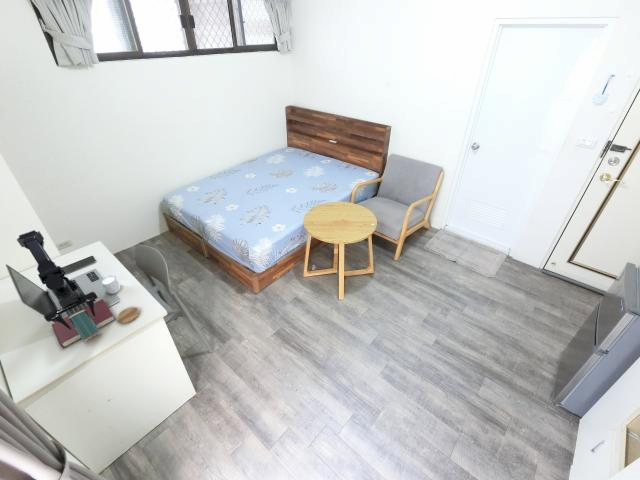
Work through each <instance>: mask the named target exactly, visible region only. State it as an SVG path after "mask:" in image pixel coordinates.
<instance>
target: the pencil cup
mask: <svg viewBox="0 0 640 480" xmlns="http://www.w3.org/2000/svg"><path fill="white" fill-rule="evenodd" d="M78 311H79V310H78ZM78 311H76V312H77V313H76V312H74V313H75V314H74V313H72V314H73V315H72V314H71V315H72V316H70V315H69V316H70V317H69V318H68V319H69V320H70V322H71V323H72V325H73V326H74V328H75V329H76V331H77V333H78V334H79V336H80V337H81V339H80V340H81V341H82V342H83V343H85V342H87V341H89V340H90V339H92V338H94V337H96V336H98V335H99V334H101V331H100V329H98V328H97V326H96V325H95V323H94V321H93V320H92V318H91V317H90V315H89V314H88V312H87V311H86V309H85V310H82V311H79V312H78Z"/></svg>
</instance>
